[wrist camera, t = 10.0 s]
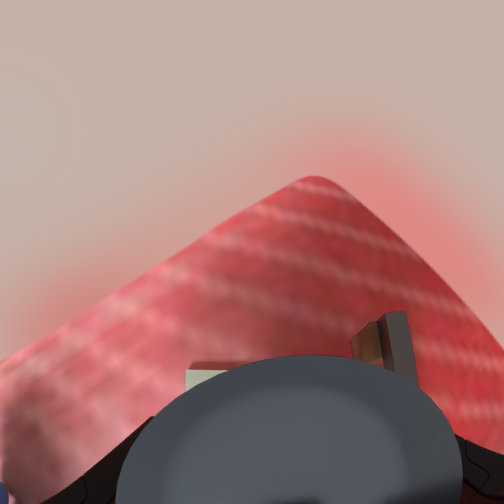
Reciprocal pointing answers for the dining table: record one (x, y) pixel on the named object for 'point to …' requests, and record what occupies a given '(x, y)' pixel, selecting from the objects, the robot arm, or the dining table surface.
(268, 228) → the dining table surface
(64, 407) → the dining table surface
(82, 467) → the dining table surface
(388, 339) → the bar
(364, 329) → the posts
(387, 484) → the canister
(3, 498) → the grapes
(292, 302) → the dining table surface
